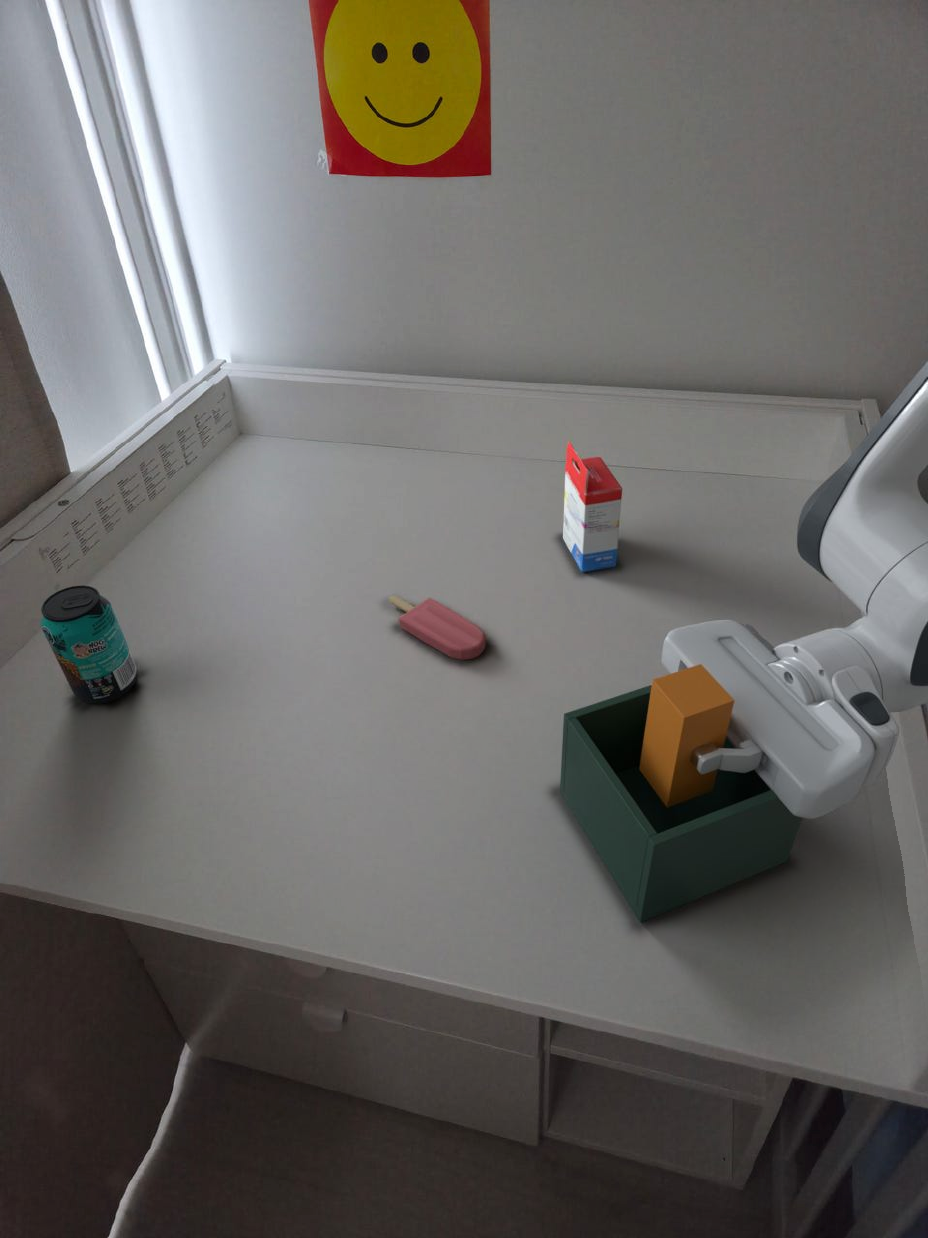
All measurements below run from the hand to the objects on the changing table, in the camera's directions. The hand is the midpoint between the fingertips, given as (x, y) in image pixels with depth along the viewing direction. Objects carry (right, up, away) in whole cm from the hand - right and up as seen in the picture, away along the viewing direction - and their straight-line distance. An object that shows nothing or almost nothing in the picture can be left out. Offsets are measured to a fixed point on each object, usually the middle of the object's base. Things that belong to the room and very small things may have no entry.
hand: (675, 736), depth 66 cm
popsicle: (-21, +8, +31) cm, 38 cm away
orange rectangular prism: (+1, -4, +4) cm, 6 cm away
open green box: (+1, -9, +8) cm, 12 cm away
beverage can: (-57, +2, +26) cm, 63 cm away
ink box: (-1, +18, +41) cm, 45 cm away
